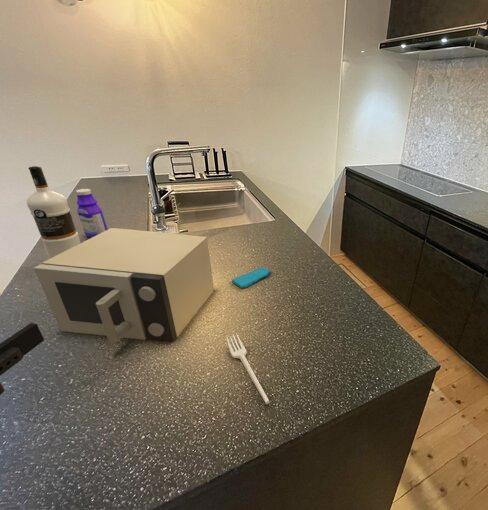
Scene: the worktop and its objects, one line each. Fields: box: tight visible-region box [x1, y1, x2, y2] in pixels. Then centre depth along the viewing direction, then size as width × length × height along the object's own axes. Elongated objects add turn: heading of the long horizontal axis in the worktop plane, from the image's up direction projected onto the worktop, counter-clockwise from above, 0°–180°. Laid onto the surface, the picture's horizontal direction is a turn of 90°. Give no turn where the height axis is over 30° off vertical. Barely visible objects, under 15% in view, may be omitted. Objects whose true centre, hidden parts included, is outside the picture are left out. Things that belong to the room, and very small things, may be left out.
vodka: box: [26, 165, 82, 260], centre depth 88 cm, size 9×9×30 cm
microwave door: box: [33, 263, 147, 345], centre depth 64 cm, size 7×20×17 cm, turn 87°
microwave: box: [41, 227, 215, 343], centre depth 75 cm, size 22×26×17 cm
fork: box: [226, 332, 271, 405], centre depth 64 cm, size 3×20×2 cm, turn 36°
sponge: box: [231, 266, 272, 289], centre depth 95 cm, size 2×12×6 cm
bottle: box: [75, 188, 108, 239], centre depth 110 cm, size 7×6×17 cm
